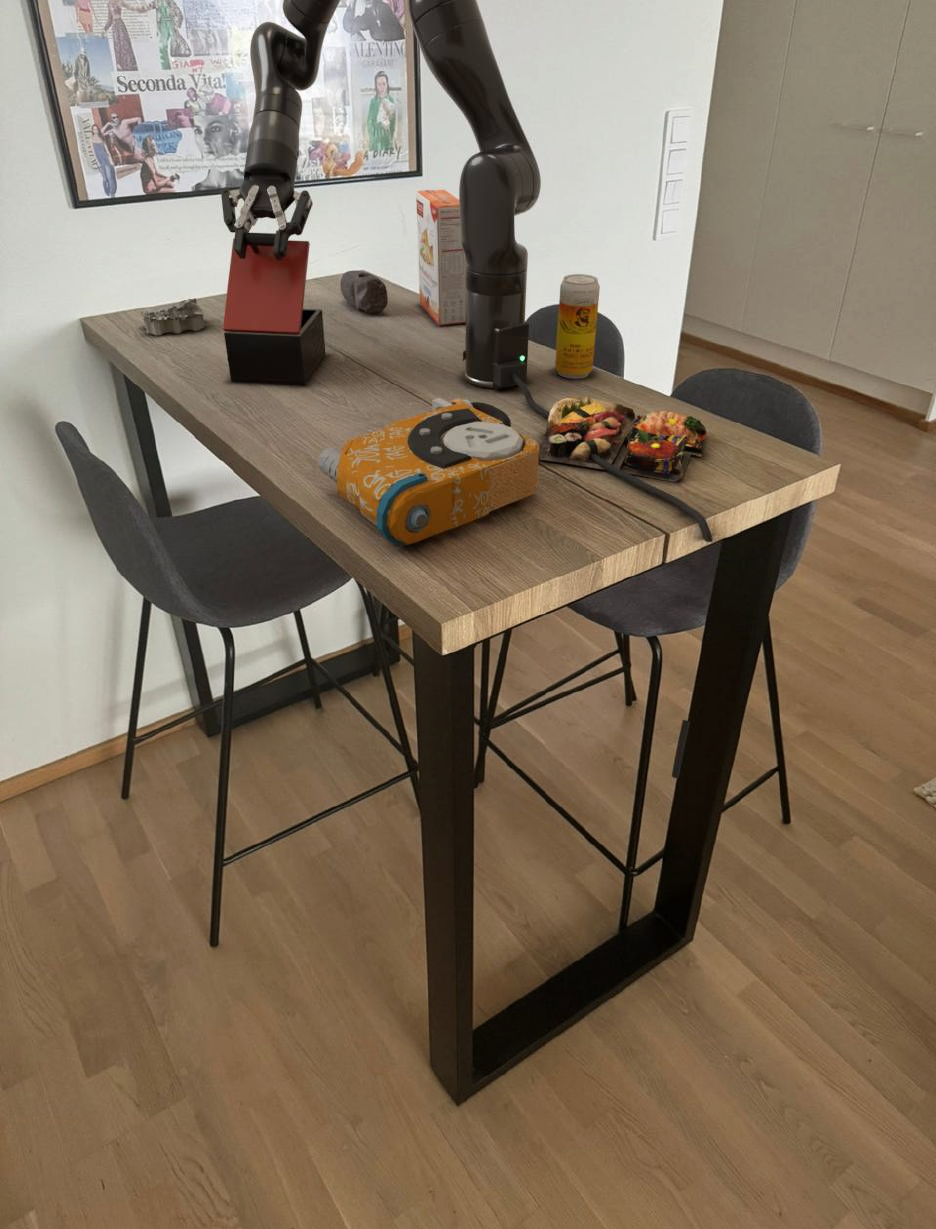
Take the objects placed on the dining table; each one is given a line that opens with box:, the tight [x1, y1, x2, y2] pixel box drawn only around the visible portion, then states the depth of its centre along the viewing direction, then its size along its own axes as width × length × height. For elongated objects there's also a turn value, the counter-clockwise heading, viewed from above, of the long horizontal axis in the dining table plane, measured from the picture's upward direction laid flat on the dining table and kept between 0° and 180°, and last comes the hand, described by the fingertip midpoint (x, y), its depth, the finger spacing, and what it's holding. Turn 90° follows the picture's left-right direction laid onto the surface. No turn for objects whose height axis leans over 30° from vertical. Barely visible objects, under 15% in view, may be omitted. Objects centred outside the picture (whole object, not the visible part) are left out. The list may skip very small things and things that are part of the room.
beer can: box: [554, 273, 601, 379], centre depth 142 cm, size 6×6×15 cm
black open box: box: [223, 308, 327, 386], centre depth 145 cm, size 14×12×8 cm
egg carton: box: [140, 297, 206, 336], centre depth 163 cm, size 11×8×4 cm
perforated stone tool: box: [340, 270, 389, 314], centre depth 173 cm, size 15×5×7 cm, turn 31°
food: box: [538, 395, 707, 483], centre depth 123 cm, size 22×19×4 cm
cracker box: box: [415, 189, 466, 327], centre depth 166 cm, size 14×6×21 cm, turn 17°
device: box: [317, 397, 540, 547], centre depth 111 cm, size 23×8×30 cm
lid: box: [222, 232, 311, 334], centre depth 135 cm, size 15×12×5 cm
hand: (259, 256), depth 134 cm, fingers closed on lid, 5 cm apart
